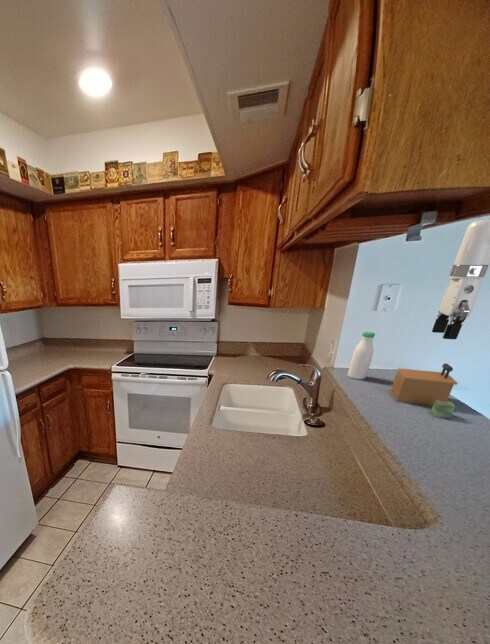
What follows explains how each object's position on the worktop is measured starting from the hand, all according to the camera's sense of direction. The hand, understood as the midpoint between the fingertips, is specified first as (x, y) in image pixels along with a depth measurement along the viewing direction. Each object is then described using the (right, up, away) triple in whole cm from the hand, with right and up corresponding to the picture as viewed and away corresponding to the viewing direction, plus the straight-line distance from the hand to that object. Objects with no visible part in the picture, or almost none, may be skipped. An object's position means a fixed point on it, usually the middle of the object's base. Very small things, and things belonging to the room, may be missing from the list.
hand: (443, 335), depth 99 cm
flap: (+15, -8, +25) cm, 30 cm away
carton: (+14, -16, +30) cm, 37 cm away
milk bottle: (+4, -4, +52) cm, 53 cm away
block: (+13, -23, +16) cm, 31 cm away
